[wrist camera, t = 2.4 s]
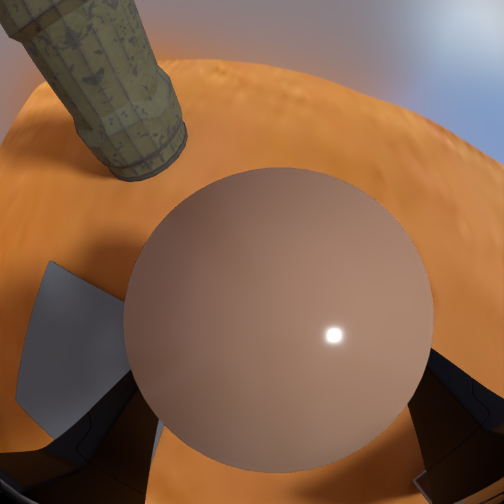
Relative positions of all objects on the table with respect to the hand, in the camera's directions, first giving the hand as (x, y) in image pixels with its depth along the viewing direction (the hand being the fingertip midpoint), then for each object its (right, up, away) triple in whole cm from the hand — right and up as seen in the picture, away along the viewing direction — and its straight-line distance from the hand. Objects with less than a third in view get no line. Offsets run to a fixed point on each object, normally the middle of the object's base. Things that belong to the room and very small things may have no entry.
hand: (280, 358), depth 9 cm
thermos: (-12, +14, +15) cm, 24 cm away
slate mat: (-15, -7, +8) cm, 18 cm away
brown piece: (0, -2, +9) cm, 9 cm away
